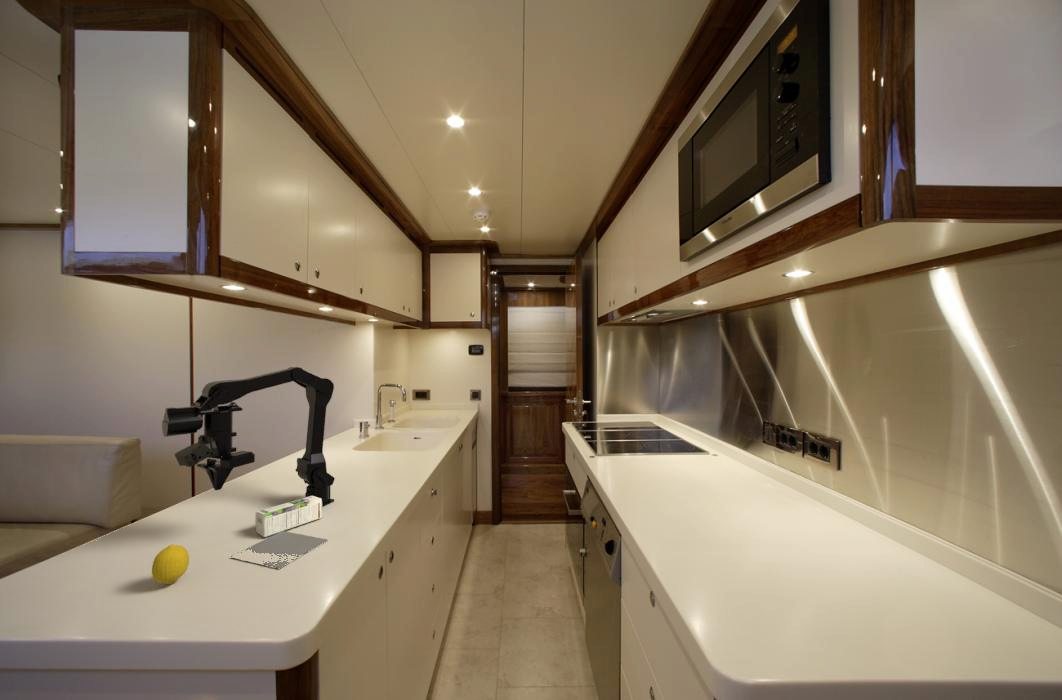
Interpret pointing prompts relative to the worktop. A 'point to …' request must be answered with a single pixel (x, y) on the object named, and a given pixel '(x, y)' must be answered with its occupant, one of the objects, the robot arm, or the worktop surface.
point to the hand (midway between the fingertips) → (217, 489)
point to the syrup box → (288, 515)
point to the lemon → (170, 564)
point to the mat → (286, 546)
